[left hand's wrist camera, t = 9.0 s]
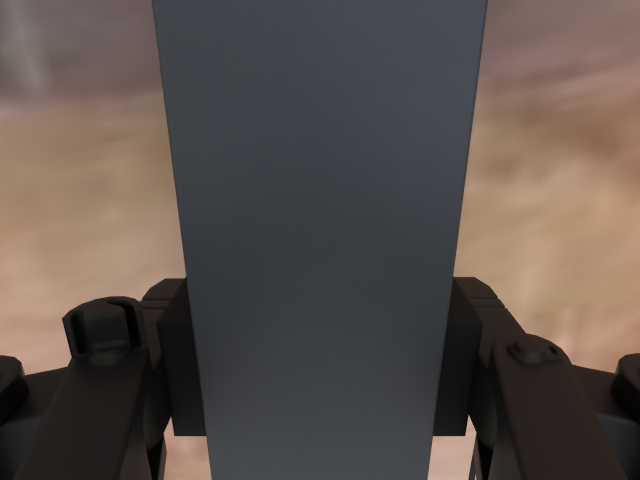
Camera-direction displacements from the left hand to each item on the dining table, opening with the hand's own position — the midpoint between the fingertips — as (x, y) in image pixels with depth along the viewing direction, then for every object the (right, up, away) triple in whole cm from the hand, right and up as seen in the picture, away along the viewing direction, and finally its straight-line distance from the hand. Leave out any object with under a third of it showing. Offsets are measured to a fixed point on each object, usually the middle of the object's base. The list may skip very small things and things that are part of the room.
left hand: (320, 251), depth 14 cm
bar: (0, +33, -12) cm, 35 cm away
